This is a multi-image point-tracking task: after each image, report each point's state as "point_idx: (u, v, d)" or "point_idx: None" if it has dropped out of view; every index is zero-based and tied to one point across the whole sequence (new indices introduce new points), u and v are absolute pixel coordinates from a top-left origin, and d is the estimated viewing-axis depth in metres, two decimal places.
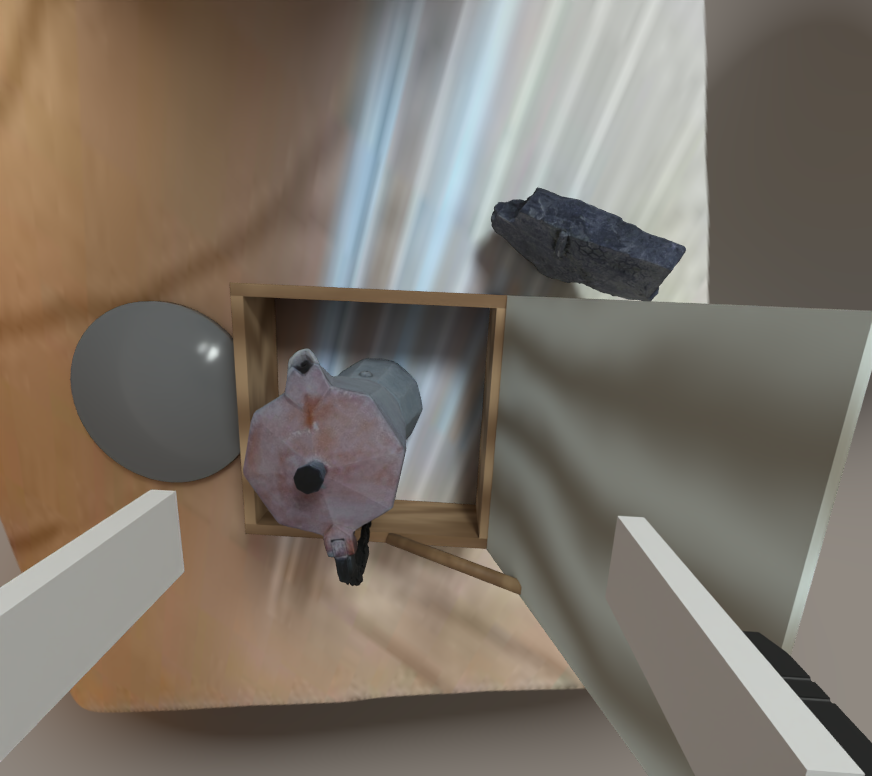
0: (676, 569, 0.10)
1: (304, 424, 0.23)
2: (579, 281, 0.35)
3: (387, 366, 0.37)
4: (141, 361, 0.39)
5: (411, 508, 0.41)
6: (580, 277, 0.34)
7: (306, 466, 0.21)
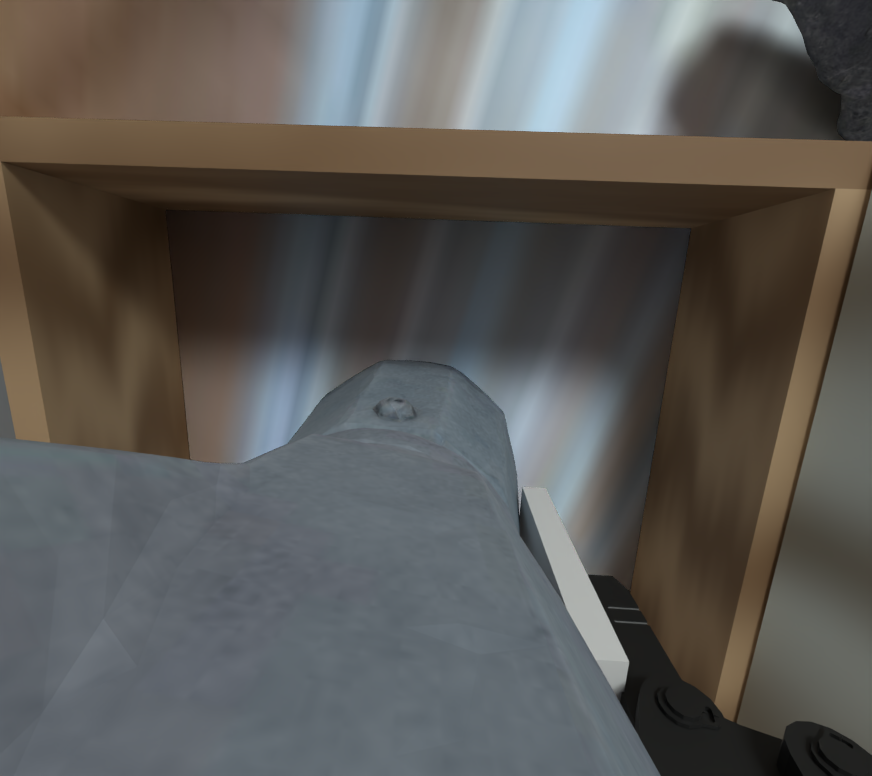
0: (553, 527, 0.11)
1: None
2: None
3: (443, 380, 0.14)
4: None
5: None
6: None
7: None
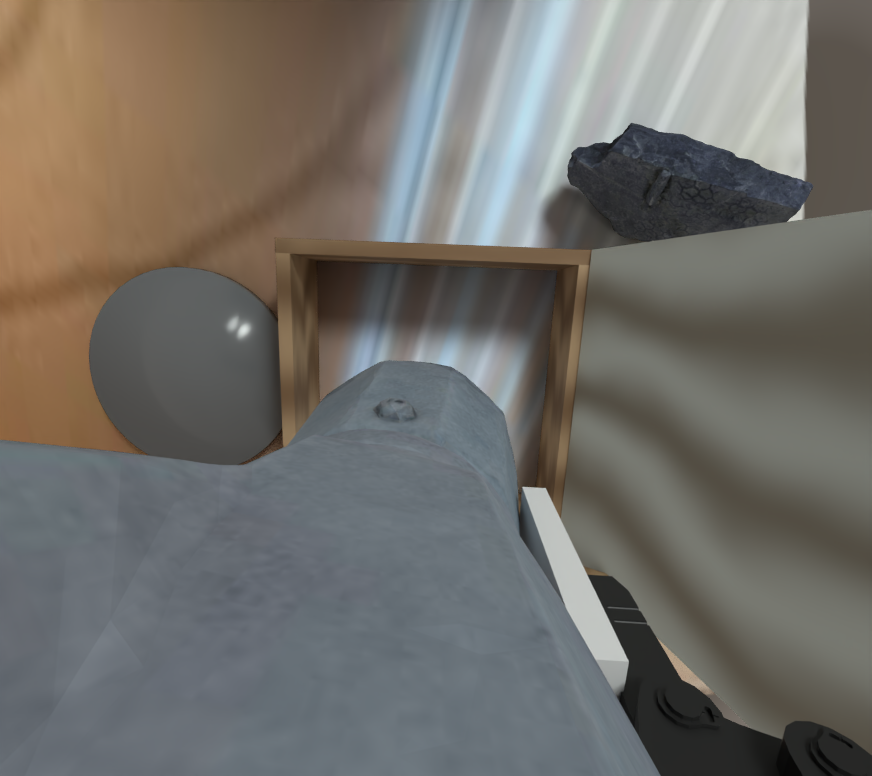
0: (553, 526, 0.11)
1: None
2: (664, 238, 0.31)
3: (443, 380, 0.14)
4: (168, 334, 0.36)
5: None
6: (668, 232, 0.30)
7: None
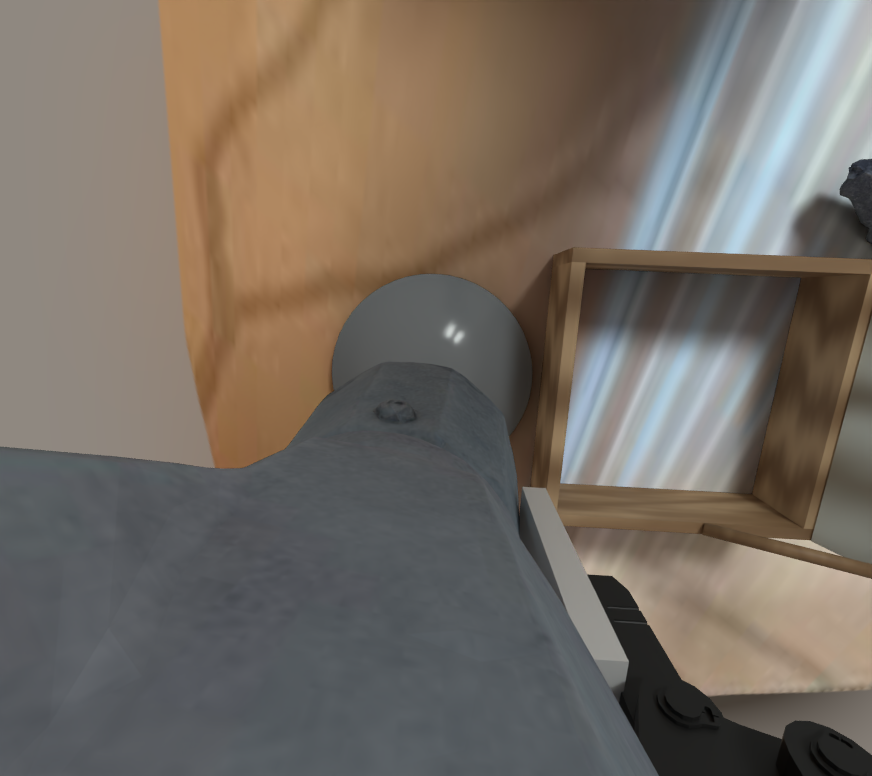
0: (553, 526, 0.11)
1: None
2: None
3: (444, 381, 0.14)
4: (413, 339, 0.37)
5: (691, 497, 0.38)
6: None
7: None
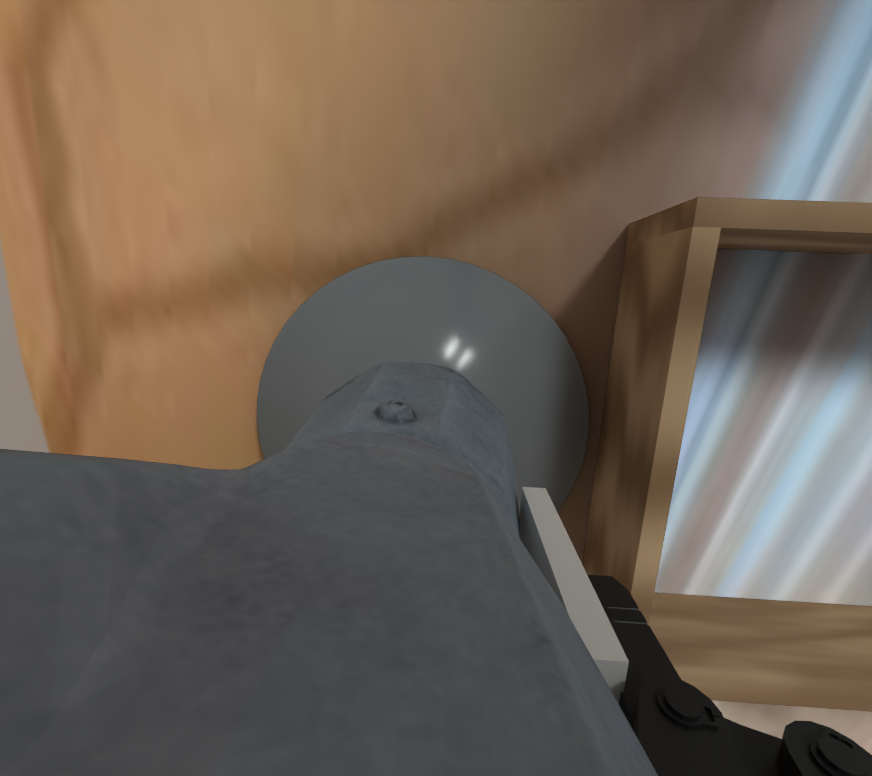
0: (553, 526, 0.11)
1: None
2: None
3: (443, 382, 0.14)
4: None
5: (845, 622, 0.24)
6: None
7: None
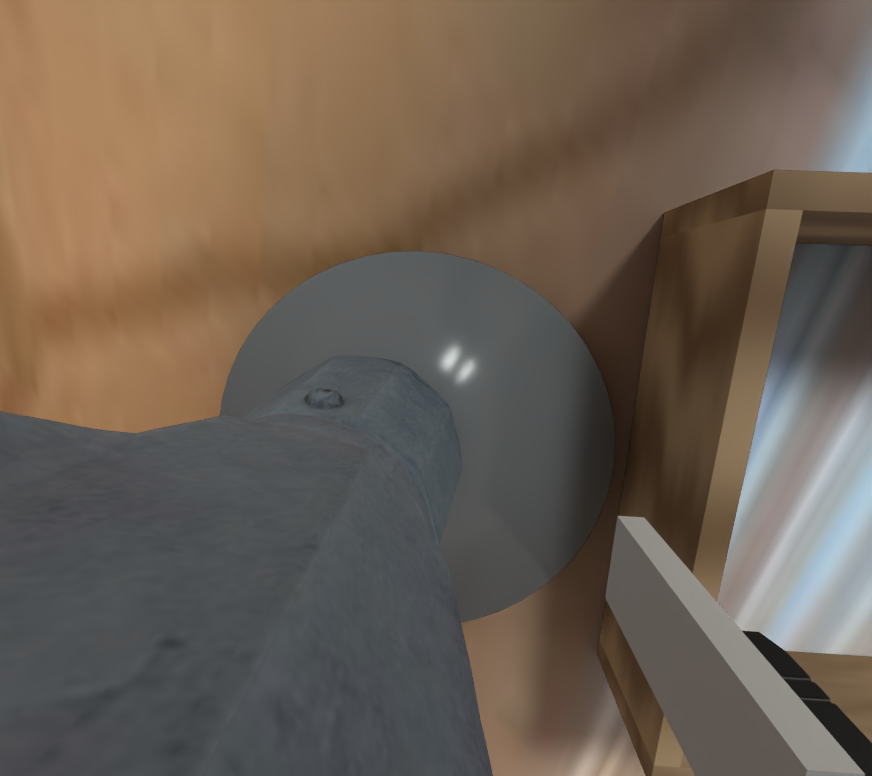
0: (676, 569, 0.10)
1: None
2: None
3: (385, 373, 0.15)
4: None
5: None
6: None
7: None
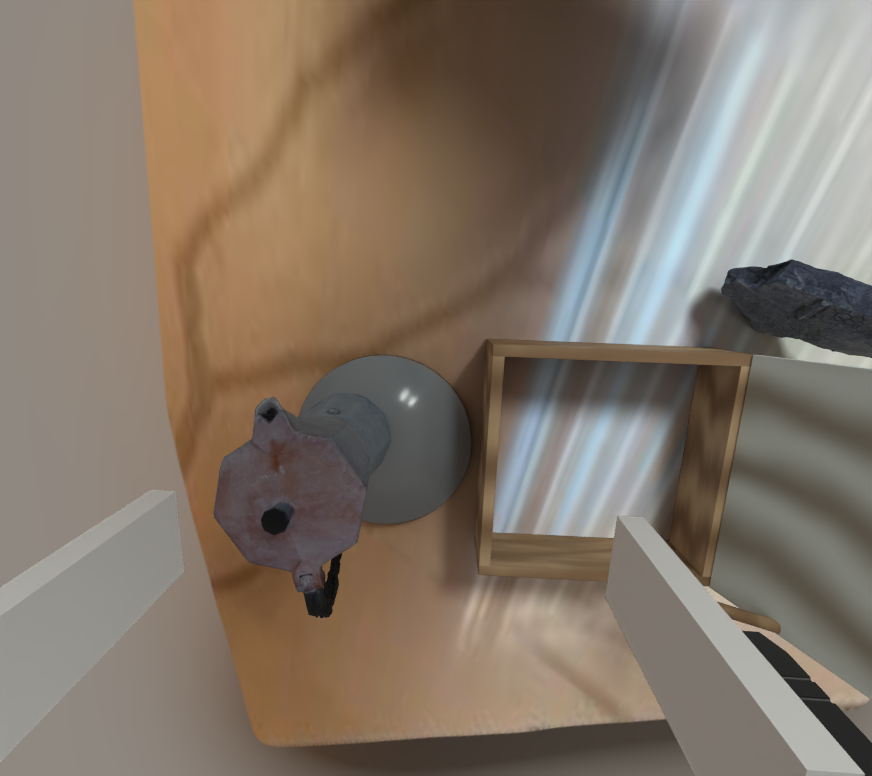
0: (676, 569, 0.10)
1: (271, 468, 0.24)
2: (798, 337, 0.38)
3: (355, 401, 0.39)
4: None
5: None
6: (806, 335, 0.37)
7: (272, 509, 0.23)
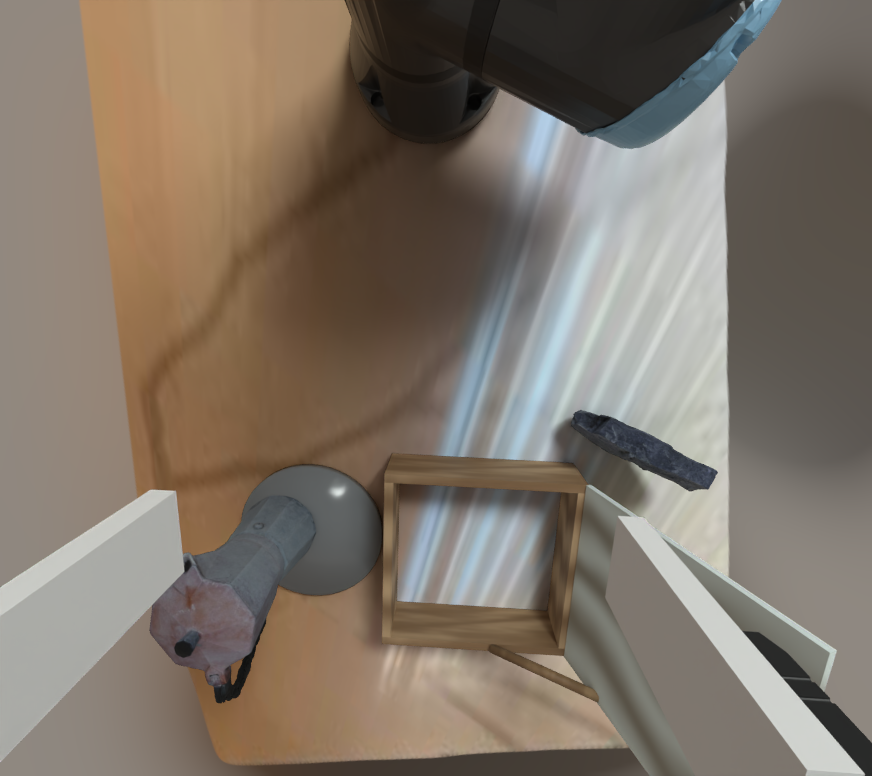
0: (676, 569, 0.10)
1: (186, 606, 0.35)
2: None
3: (282, 508, 0.49)
4: None
5: (499, 616, 0.54)
6: (636, 464, 0.46)
7: (181, 641, 0.33)
